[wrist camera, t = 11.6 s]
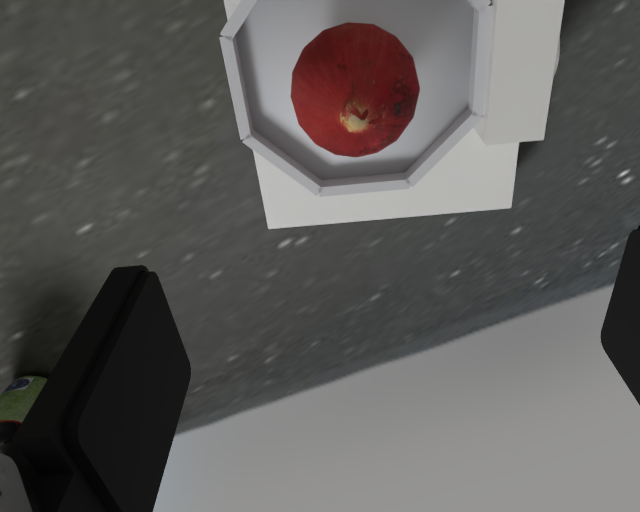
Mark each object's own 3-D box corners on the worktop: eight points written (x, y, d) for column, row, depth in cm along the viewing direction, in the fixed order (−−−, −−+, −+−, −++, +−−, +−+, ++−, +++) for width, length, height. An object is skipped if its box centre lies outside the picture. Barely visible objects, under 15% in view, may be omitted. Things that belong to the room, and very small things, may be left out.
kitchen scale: (207, -145, 25) (174, -162, 19) (544, -193, 23) (607, -226, 18) (272, 207, 36) (262, 258, 30) (503, 186, 35) (534, 236, 29)
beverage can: (32, 415, 50) (-43, 539, 40) (-9, 364, 46) (-103, 488, 36) (90, 408, 49) (29, 533, 39) (54, 356, 45) (-24, 480, 35)
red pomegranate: (418, 17, 24) (451, 53, 18) (396, 130, 28) (417, 197, 21) (300, 4, 24) (288, 35, 17) (292, 119, 27) (279, 183, 21)
